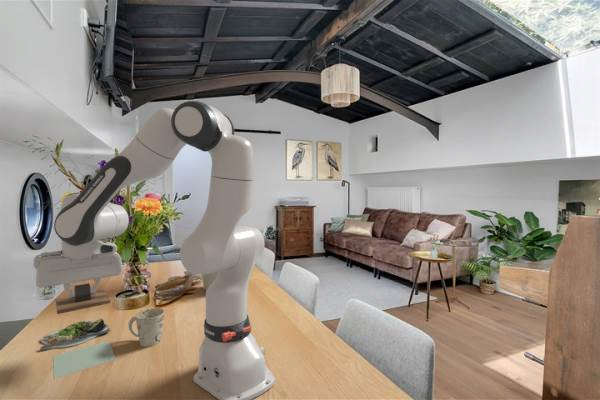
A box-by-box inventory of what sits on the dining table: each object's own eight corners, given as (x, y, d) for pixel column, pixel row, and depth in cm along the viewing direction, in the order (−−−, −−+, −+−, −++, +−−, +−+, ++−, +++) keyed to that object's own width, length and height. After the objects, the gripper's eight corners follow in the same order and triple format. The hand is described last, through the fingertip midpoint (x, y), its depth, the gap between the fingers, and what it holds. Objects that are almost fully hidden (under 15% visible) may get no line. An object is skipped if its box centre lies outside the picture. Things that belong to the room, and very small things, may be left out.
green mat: (116, 361, 89) (116, 359, 89) (54, 380, 80) (54, 378, 80) (108, 342, 99) (108, 340, 99) (53, 358, 91) (53, 356, 91)
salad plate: (55, 360, 90) (55, 345, 90) (23, 347, 97) (22, 333, 97) (118, 332, 108) (118, 319, 107) (86, 323, 115) (86, 311, 115)
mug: (153, 351, 94) (152, 319, 93) (118, 347, 96) (117, 316, 96) (170, 338, 102) (169, 309, 102) (137, 335, 104) (136, 306, 104)
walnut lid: (110, 303, 88) (109, 286, 88) (57, 314, 81) (56, 296, 80) (104, 292, 97) (103, 277, 97) (55, 301, 90) (55, 285, 90)
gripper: (33, 255, 79) (35, 308, 80) (122, 245, 92) (124, 291, 93) (33, 251, 84) (35, 301, 85) (119, 242, 97) (120, 286, 98)
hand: (82, 295), depth 89 cm, fingers closed on walnut lid, 3 cm apart
